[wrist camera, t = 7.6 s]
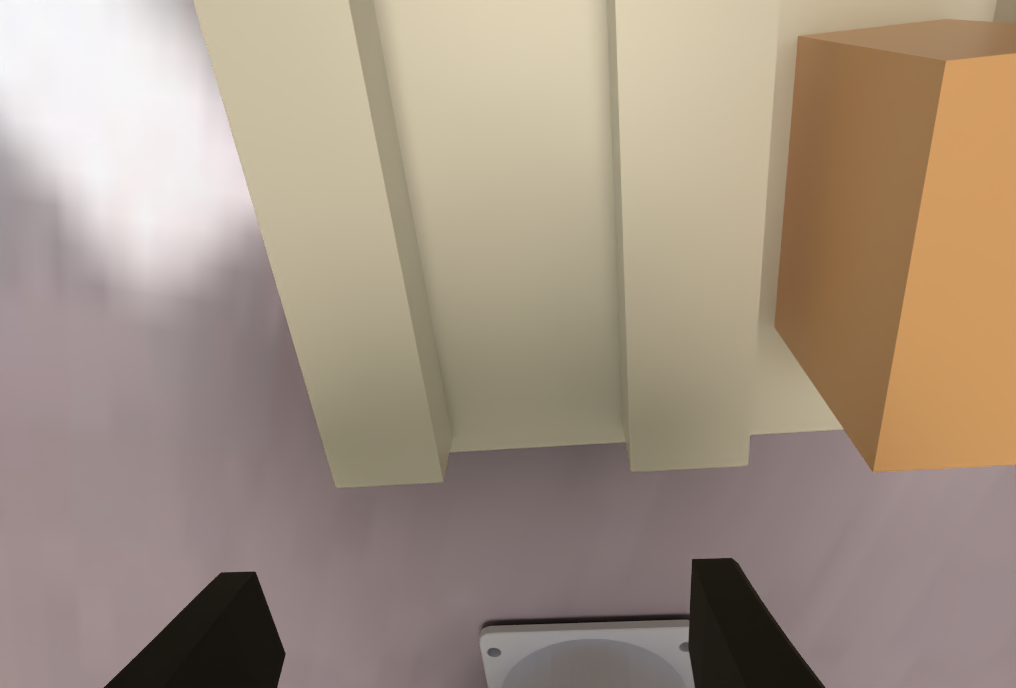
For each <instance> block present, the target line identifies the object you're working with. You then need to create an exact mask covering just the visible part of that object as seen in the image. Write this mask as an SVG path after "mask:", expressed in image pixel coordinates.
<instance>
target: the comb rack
mask: <svg viewBox="0 0 1016 688" xmlns="http://www.w3.org/2000/svg"><path fill="white" fill-rule="evenodd" d="M193 2H194V5H195V8H196V12H197V15H198V19H199V22H200V26H201V29H202V32H203V36H204V39H205V43H206V46H207V49H208V53H209V56H210V60H211V63H212V67H213V70H214V73H215V77H216V80H217V84H218V87H219V90H220V94H221V97H222V101H223V104H224V108H225V111H226V114H227V118H228V121H229V125H230V128H231V131H232V135H233V138H234V142H235V145H236V149H237V152H238V155H239V159H240V162H241V166H242V169H243V172H244V176H245V179H246V183H247V186H248V190H249V193H250V196H251V200H252V203H253V207H254V210H255V213H256V217H257V220H258V224H259V227H260V231H261V234H262V237H263V241H264V244H265V248H266V251H267V254H268V258H269V261H270V265H271V268H272V272H273V275H274V278H275V282H276V285H277V289H278V292H279V295H280V299H281V302H282V306H283V309H284V313H285V316H286V319H287V323H288V326H289V330H290V333H291V336H292V340H293V343H294V347H295V350H296V354H297V357H298V360H299V364H300V367H301V371H302V374H303V377H304V381H305V384H306V388H307V391H308V395H309V398H310V401H311V405H312V408H313V412H314V415H315V418H316V422H317V425H318V429H319V432H320V436H321V439H322V442H323V446H324V449H325V453H326V456H327V459H328V463H329V466H330V470H331V473H332V477H333V480H334V483H335V487H336V488H348V487H366V486H385V485H403V484H422V483H440V482H444V477H445V473H446V468H447V463H448V458H449V454H450V452H466V451H483V450H500V449H517V448H534V447H551V446H568V445H585V444H602V443H619V442H625V443H626V448H627V454H628V460H629V465H630V471H631V472H643V471H661V470H679V469H698V468H716V467H735V466H748V460H749V446H750V435H756V434H773V433H790V432H807V431H824V430H841V429H843V427H842V426H841V424H840V423H839V422H838V420H837V419H836V417H835V416H834V414H833V413H832V411H831V410H830V408H829V407H828V405H827V404H826V402H825V401H824V399H823V398H822V397H821V395H820V394H819V392H818V391H817V389H816V388H815V386H814V385H813V383H812V382H811V380H810V379H809V377H808V376H807V375H806V373H805V372H804V370H803V369H802V367H801V366H800V364H799V363H798V361H797V360H796V358H795V357H794V355H793V354H792V352H791V351H790V350H789V348H788V347H787V345H786V344H785V342H784V341H783V339H782V338H781V336H780V335H779V333H778V332H777V330H776V329H775V327H774V324H775V312H776V300H777V288H778V275H779V263H780V251H781V239H782V226H783V214H784V202H785V190H786V177H787V165H788V153H789V141H790V128H791V116H792V104H793V92H794V79H795V67H796V55H797V43H798V36H802V35H810V34H819V33H828V32H837V31H845V30H854V29H863V28H871V27H880V26H889V25H897V24H906V23H915V22H924V21H932V20H941V19H954V20H970V21H986V22H1001V23H1016V0H193Z"/></svg>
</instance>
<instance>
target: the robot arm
mask: <svg viewBox="0 0 1016 688" xmlns="http://www.w3.org/2000/svg"><path fill="white" fill-rule="evenodd" d="M479 644H480V649H481V655H482V660H483V665H484V670H485V675H486V680H487V686H488V688H825V686H824V685H823V684H822V683H821V681H820V680H819V679H818V677H817V676H816V675H815V673H814V672H813V671H812V670H811V668H810V667H809V666H808V664H807V663H806V662H805V660H804V659H803V658H802V657H801V655H800V654H799V653H798V651H797V650H796V649H795V647H794V646H793V644H792V643H791V642H790V640H789V639H788V638H787V636H786V635H785V633H784V632H783V631H782V629H781V628H780V626H779V625H778V623H777V622H776V621H775V619H774V618H773V616H772V615H771V614H770V612H769V611H768V609H767V608H766V606H765V605H764V603H763V602H762V600H761V599H760V597H759V596H758V594H757V593H756V591H755V590H754V588H753V587H752V585H751V583H750V582H749V580H748V579H747V577H746V575H745V574H744V572H743V571H742V569H741V567H740V566H739V564H738V563H737V562H736V561H735V560H733V559H732V558H718V559H692V575H691V597H690V619H689V620H654V621H624V622H593V623H562V624H532V625H501V626H488V627H485V628H484V629H482V631H481V632H480V640H479ZM284 658H285V651H284V648H283V646H282V643H281V640H280V637H279V635H278V632H277V629H276V626H275V624H274V621H273V618H272V616H271V613H270V610H269V607H268V605H267V602H266V599H265V596H264V594H263V591H262V588H261V585H260V583H259V580H258V577H257V575H256V572H225V573H220V574H219V575H218V576H217V577H216V578H215V579H214V580H213V581H212V582H211V583H210V584H208V585H207V586H206V587H205V588H204V589H203V590H202V591H201V592H200V593H199V594H198V595H197V596H196V597H195V598H194V599H193V600H192V601H191V602H190V603H189V604H188V605H187V606H186V607H185V608H184V609H183V610H182V611H181V612H180V613H179V614H178V615H177V616H176V617H175V618H174V619H173V620H172V621H171V622H170V623H169V624H168V625H167V626H166V627H165V628H164V629H163V630H162V631H161V632H160V633H159V634H158V635H157V636H156V637H155V638H154V639H153V640H152V641H151V642H150V643H149V644H148V645H147V646H146V647H145V648H144V649H143V650H142V651H141V652H140V653H139V654H138V655H137V656H136V657H135V658H134V659H133V660H132V661H131V662H130V663H129V664H128V665H127V666H126V667H125V668H124V669H122V670H121V671H120V672H119V673H118V674H117V675H116V676H115V677H114V678H113V679H112V680H111V681H110V682H109V683H108V684H107V685H106V686H105V687H104V688H277V686H278V682H279V678H280V674H281V670H282V666H283V662H284Z"/></svg>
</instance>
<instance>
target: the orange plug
mask: <svg viewBox="0 0 1016 688" xmlns="http://www.w3.org/2000/svg"><path fill="white" fill-rule="evenodd" d="M774 327H775V329H776V330H777V332H778V333H779V335H780V336H781V338H782V339H783V341H784V342H785V344H786V345H787V347H788V348H789V350H790V351H791V352H792V354H793V355H794V357H795V358H796V360H797V361H798V363H799V364H800V366H801V367H802V369H803V370H804V372H805V373H806V375H807V376H808V377H809V379H810V380H811V382H812V383H813V385H814V386H815V388H816V389H817V391H818V392H819V394H820V395H821V397H822V398H823V399H824V401H825V402H826V404H827V405H828V407H829V408H830V410H831V411H832V413H833V414H834V416H835V417H836V419H837V420H838V422H839V423H840V424H841V426H842V427H843V429H844V430H845V432H846V433H847V435H848V436H849V438H850V439H851V441H852V442H853V444H854V445H855V446H856V448H857V449H858V451H859V452H860V454H861V455H862V457H863V458H864V460H865V461H866V463H867V464H868V466H869V467H870V469H871V470H872V471H873V472H886V471H905V470H924V469H943V468H962V467H981V466H1000V465H1016V23H1001V22H986V21H970V20H954V19H941V20H932V21H924V22H915V23H906V24H897V25H889V26H880V27H871V28H863V29H854V30H845V31H837V32H828V33H819V34H810V35H802V36H798V43H797V55H796V67H795V79H794V92H793V104H792V116H791V128H790V141H789V153H788V165H787V177H786V190H785V202H784V214H783V226H782V239H781V251H780V263H779V275H778V288H777V300H776V312H775V324H774Z"/></svg>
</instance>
